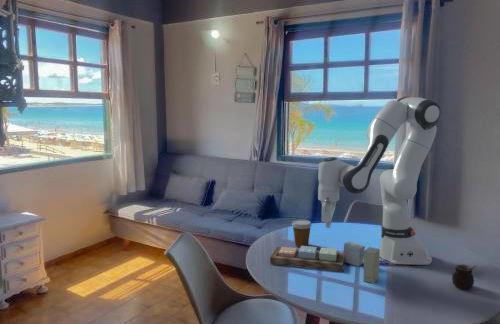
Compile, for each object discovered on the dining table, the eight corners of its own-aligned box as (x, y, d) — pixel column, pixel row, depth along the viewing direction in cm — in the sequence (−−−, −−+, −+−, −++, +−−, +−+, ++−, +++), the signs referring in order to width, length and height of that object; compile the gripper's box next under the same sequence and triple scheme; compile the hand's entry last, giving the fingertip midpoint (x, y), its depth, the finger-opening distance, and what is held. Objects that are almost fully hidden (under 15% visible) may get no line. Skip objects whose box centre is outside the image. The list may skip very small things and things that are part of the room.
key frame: (344, 259, 173) (344, 253, 172) (342, 271, 161) (342, 264, 160) (277, 252, 182) (277, 246, 182) (270, 263, 170) (270, 257, 169)
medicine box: (362, 264, 168) (365, 246, 167) (357, 267, 165) (360, 248, 163) (346, 258, 174) (349, 240, 172) (341, 261, 170) (344, 242, 169)
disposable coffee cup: (312, 248, 186) (312, 224, 184) (292, 249, 186) (292, 225, 185) (310, 241, 196) (310, 219, 194) (291, 242, 196) (291, 219, 194)
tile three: (296, 254, 176) (296, 247, 176) (293, 260, 169) (293, 253, 169) (281, 253, 178) (281, 246, 178) (278, 258, 172) (278, 251, 171)
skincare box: (373, 283, 149) (374, 254, 147) (362, 280, 152) (363, 251, 150) (379, 278, 154) (380, 248, 152) (368, 275, 157) (369, 246, 155)
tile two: (316, 253, 173) (316, 246, 173) (314, 259, 167) (314, 252, 166) (301, 251, 175) (301, 245, 175) (298, 257, 169) (298, 250, 168)
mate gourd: (453, 281, 150) (455, 256, 148) (475, 286, 145) (478, 261, 144) (449, 287, 144) (451, 262, 143) (472, 294, 140) (474, 268, 138)
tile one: (337, 255, 170) (337, 248, 170) (335, 261, 164) (335, 254, 163) (321, 253, 173) (321, 247, 172) (319, 259, 166) (319, 252, 165)
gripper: (333, 201, 153) (333, 235, 155) (338, 190, 173) (337, 220, 175) (317, 201, 155) (317, 234, 157) (324, 190, 175) (323, 219, 177)
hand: (328, 226), depth 166 cm, fingers closed
